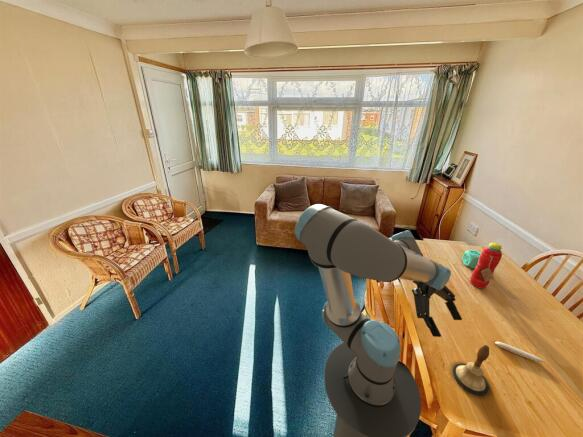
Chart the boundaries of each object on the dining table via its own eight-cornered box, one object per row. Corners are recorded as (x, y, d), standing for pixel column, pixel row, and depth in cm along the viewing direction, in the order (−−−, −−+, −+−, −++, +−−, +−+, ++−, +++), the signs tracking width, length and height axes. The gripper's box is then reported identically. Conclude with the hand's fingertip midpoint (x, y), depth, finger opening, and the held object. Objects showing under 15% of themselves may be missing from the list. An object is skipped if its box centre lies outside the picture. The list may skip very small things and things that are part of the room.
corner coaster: (472, 399, 72) (473, 398, 72) (445, 368, 81) (446, 367, 81) (496, 390, 75) (496, 389, 74) (467, 361, 83) (468, 360, 83)
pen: (544, 366, 82) (546, 363, 81) (494, 345, 89) (496, 342, 88) (543, 362, 83) (545, 359, 82) (494, 342, 90) (495, 339, 90)
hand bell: (451, 375, 78) (467, 344, 72) (461, 361, 83) (477, 331, 76) (479, 397, 72) (499, 366, 65) (489, 381, 77) (509, 350, 70)
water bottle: (487, 296, 112) (508, 254, 101) (467, 289, 117) (485, 248, 106) (487, 283, 121) (506, 243, 110) (469, 277, 125) (485, 238, 114)
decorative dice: (474, 261, 138) (479, 250, 134) (482, 269, 131) (488, 258, 127) (460, 260, 139) (464, 249, 135) (467, 268, 132) (472, 256, 128)
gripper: (405, 279, 77) (437, 345, 72) (446, 258, 88) (476, 313, 83) (389, 282, 83) (417, 342, 78) (429, 262, 95) (456, 313, 89)
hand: (448, 327), depth 81 cm, fingers open, 13 cm apart
